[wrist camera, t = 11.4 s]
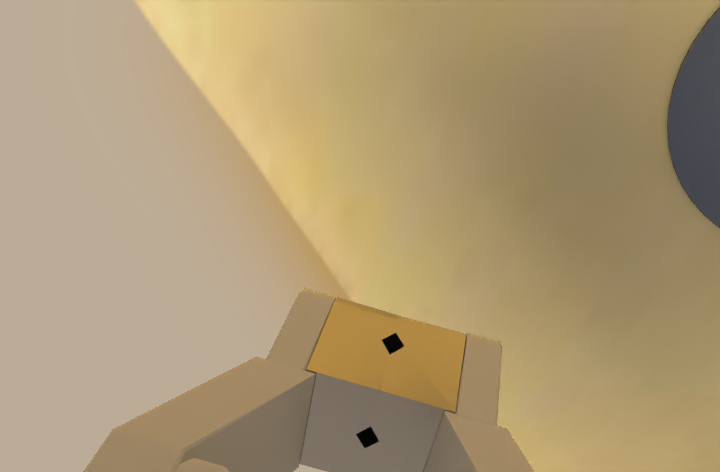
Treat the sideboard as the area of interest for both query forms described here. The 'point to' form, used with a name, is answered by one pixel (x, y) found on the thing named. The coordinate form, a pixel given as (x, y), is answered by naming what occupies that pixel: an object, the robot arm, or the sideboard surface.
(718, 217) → the dark gray round plate
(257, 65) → the sideboard surface
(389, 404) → the robot arm
